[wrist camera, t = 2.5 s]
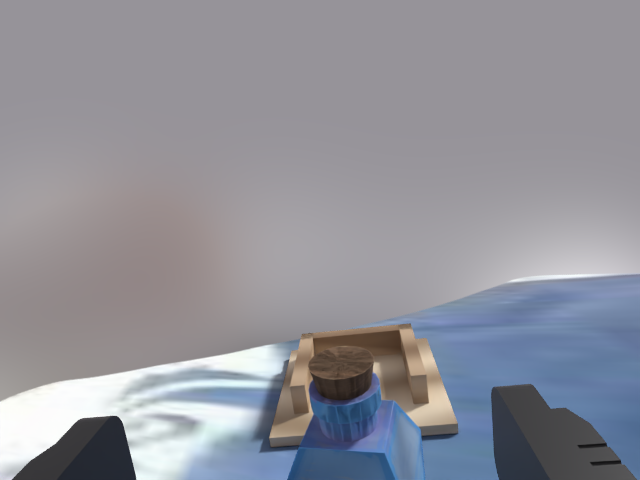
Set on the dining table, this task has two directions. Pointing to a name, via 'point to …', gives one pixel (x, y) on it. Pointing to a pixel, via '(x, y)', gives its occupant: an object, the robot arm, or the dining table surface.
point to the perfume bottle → (355, 424)
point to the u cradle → (389, 365)
